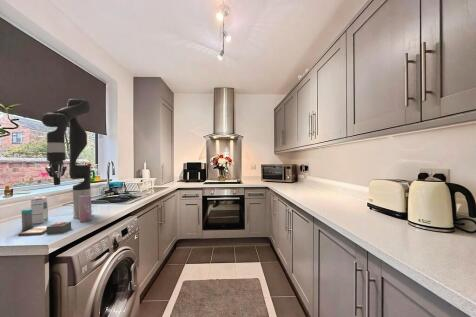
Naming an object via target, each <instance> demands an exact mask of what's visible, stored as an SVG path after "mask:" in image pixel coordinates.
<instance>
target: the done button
mask: <svg viewBox="0 0 476 317" xmlns="http://www.w3.org/2000/svg"><path fill="white" fill-rule="evenodd" d="M64 222H65V221H61V222H55V224H54V223H53V224H54V226H57V225H63V224H64Z"/></svg>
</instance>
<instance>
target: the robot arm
mask: <svg viewBox="0 0 476 317" xmlns="http://www.w3.org/2000/svg"><path fill="white" fill-rule="evenodd" d="M66 105H67V106H65V107H62V108H60V109H58V110H55V111H49V112H46V113H44V114H43V115H42V117H41V123H42V124H43V125H44V126H45V127H49V128H56V129H55V130H51V131H48V132H47V133H46V161H48V162H49V163H48V166H47V167H45V171H46V172H47V174H48V175H49V177H50V178H52V179H53V185H54V186H60V185H61V178H62V177H63V176H64V175H65V173H66V170H67V169H68V167H67V166H65V165H64V161H66V158H67V156H66V144H65V143H66V142H65V134H66V131H67V128H68V127H69V129H68V142H69V172H68V173H69V177H70V179H71V180H79V179H84V180H83V181H81V182H79V183H77V184H73V185H72V208H73V210H72V212H73V215H72V216H73V218H74V219H79V196H80V195H91V194H92V193H91V165H90V164H88V163H82V164H81V163H80V164H79V163H77V161H78V159H79V156H80V155H81V154H82V152H83V151H84V149H85V148H86V147H87V145H88V134H87V131H86V130H85V129H84V127H83V126H82V125H81V124H80V122H79V120H78V117H79V116H81V115H83V114H84V115H85V114H87V113H89V112H90V110H91V106H90V103H89V101H88V100H86V99H84V98H69V99H68V100H67V104H66ZM91 196H92V195H91Z"/></svg>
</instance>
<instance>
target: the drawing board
mask: <svg viewBox="0 0 476 317" xmlns="http://www.w3.org/2000/svg"><path fill="white" fill-rule="evenodd" d="M47 226H48V225H38V226H35V227H33V228H32V229H29V230H27V231H22V232H20V233H18V234H17V236H18V237H22V236H25V237H26V236H42V235H44V234H47Z"/></svg>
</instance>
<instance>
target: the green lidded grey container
mask: <svg viewBox="0 0 476 317" xmlns="http://www.w3.org/2000/svg"><path fill="white" fill-rule="evenodd" d="M32 212H33V209H31V208H27V209H21V231H22V232H24V231H27V230H29V229H32V228H34V226H33V224H34V223H33V219H32Z"/></svg>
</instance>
